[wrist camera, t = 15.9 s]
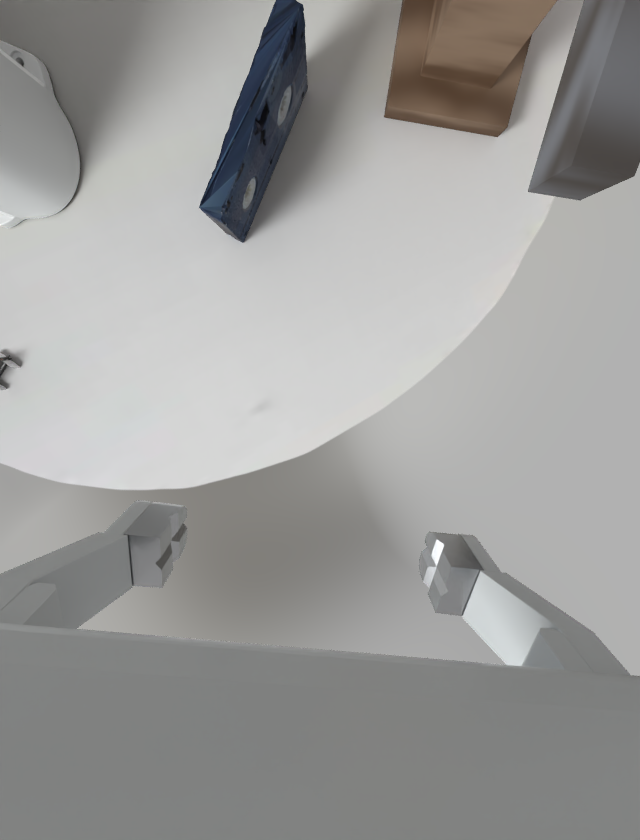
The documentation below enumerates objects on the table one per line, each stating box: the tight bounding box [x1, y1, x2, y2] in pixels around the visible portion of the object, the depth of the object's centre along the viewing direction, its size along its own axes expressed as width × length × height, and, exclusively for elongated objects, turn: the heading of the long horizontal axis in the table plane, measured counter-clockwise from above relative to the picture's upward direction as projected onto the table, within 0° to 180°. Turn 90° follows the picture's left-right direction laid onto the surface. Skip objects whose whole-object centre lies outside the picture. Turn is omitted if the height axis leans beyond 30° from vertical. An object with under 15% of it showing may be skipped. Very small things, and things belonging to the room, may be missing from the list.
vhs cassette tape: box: [199, 0, 308, 242], centre depth 33 cm, size 18×3×10 cm, turn 150°
